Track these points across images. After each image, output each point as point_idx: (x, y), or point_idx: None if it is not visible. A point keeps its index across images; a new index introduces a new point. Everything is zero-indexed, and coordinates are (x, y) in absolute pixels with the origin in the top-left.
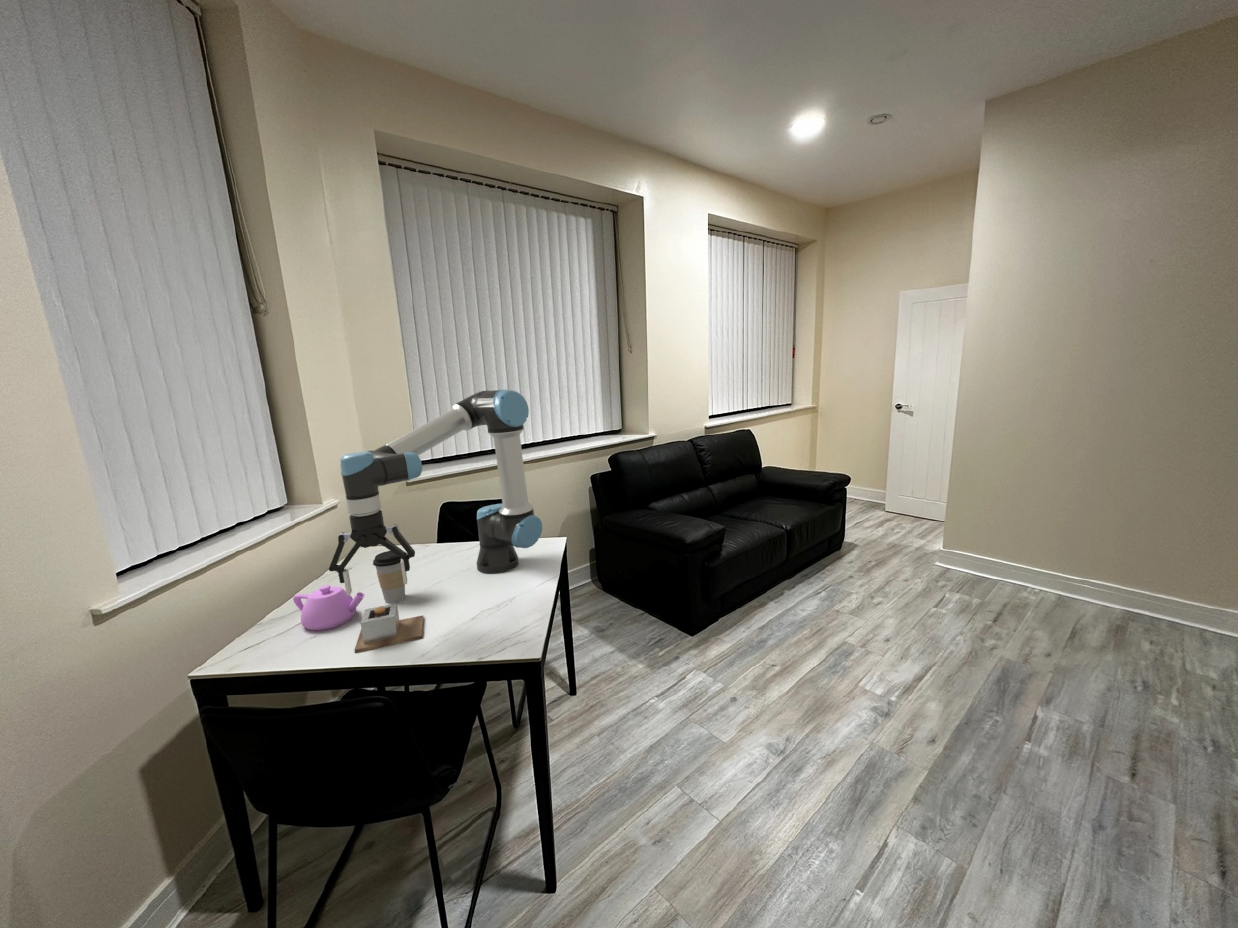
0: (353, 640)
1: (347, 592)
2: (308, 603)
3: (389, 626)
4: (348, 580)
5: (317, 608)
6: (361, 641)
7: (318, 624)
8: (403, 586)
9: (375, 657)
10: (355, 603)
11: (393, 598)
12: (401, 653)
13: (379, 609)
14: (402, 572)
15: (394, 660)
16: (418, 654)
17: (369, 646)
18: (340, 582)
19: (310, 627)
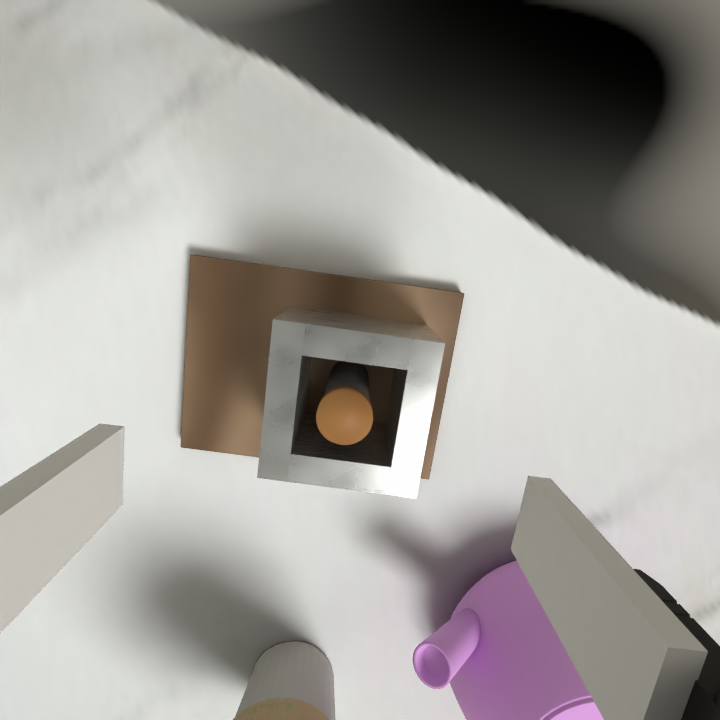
0: (461, 404)
1: (554, 489)
2: None
3: (311, 315)
4: (577, 580)
5: None
6: None
7: None
8: (239, 710)
9: (386, 199)
10: (453, 627)
11: (295, 657)
12: (283, 167)
13: (345, 418)
14: (43, 481)
15: (313, 121)
16: (214, 111)
17: (406, 286)
18: (650, 577)
19: None
